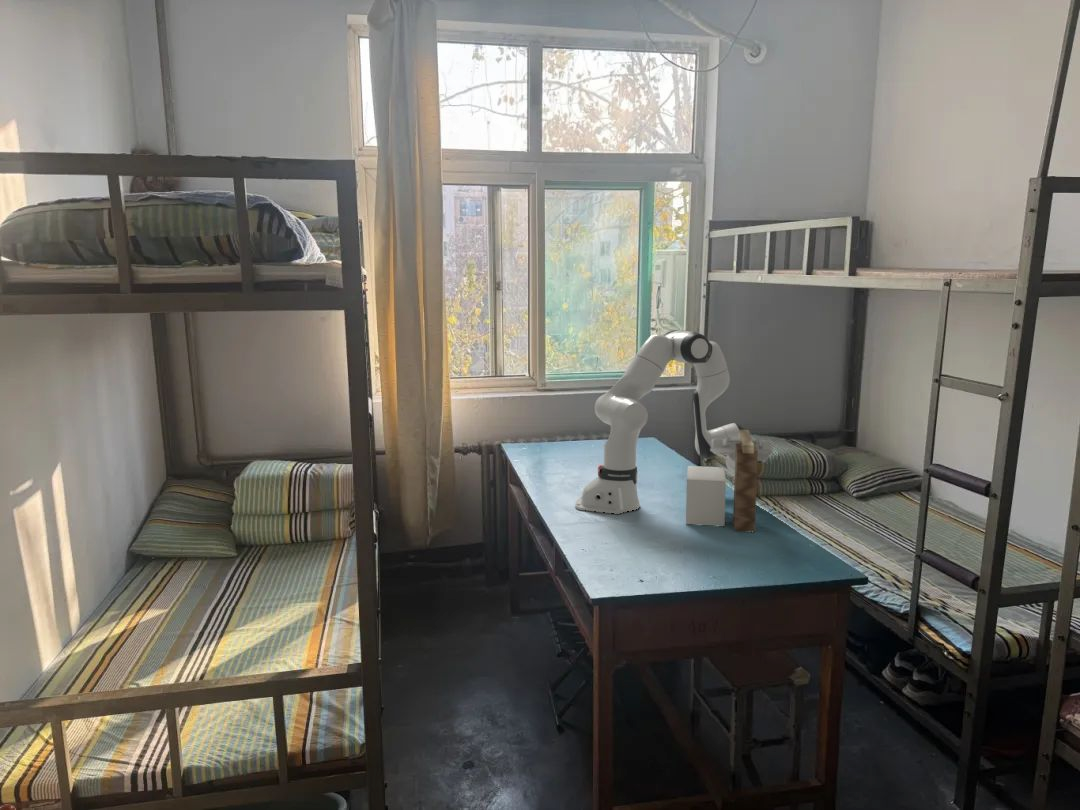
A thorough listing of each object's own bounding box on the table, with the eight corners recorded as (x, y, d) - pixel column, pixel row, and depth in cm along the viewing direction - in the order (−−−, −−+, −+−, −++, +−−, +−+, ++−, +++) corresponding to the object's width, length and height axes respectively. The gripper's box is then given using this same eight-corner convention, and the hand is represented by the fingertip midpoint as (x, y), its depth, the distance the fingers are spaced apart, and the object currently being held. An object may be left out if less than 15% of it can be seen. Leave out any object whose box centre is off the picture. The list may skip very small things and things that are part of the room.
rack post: (734, 531, 227) (737, 449, 223) (733, 521, 236) (735, 443, 232) (754, 532, 226) (757, 450, 221) (752, 522, 235) (755, 443, 231)
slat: (743, 453, 218) (743, 444, 218) (738, 437, 242) (739, 429, 241) (753, 453, 218) (753, 445, 217) (748, 437, 241) (748, 430, 241)
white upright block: (685, 524, 234) (686, 479, 231) (686, 508, 251) (687, 465, 249) (724, 526, 231) (725, 481, 229) (722, 510, 249) (723, 467, 246)
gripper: (709, 442, 258) (711, 430, 245) (770, 445, 254) (774, 432, 241) (709, 459, 256) (710, 447, 243) (770, 462, 252) (774, 450, 239)
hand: (743, 440), depth 242 cm, fingers open, 8 cm apart
